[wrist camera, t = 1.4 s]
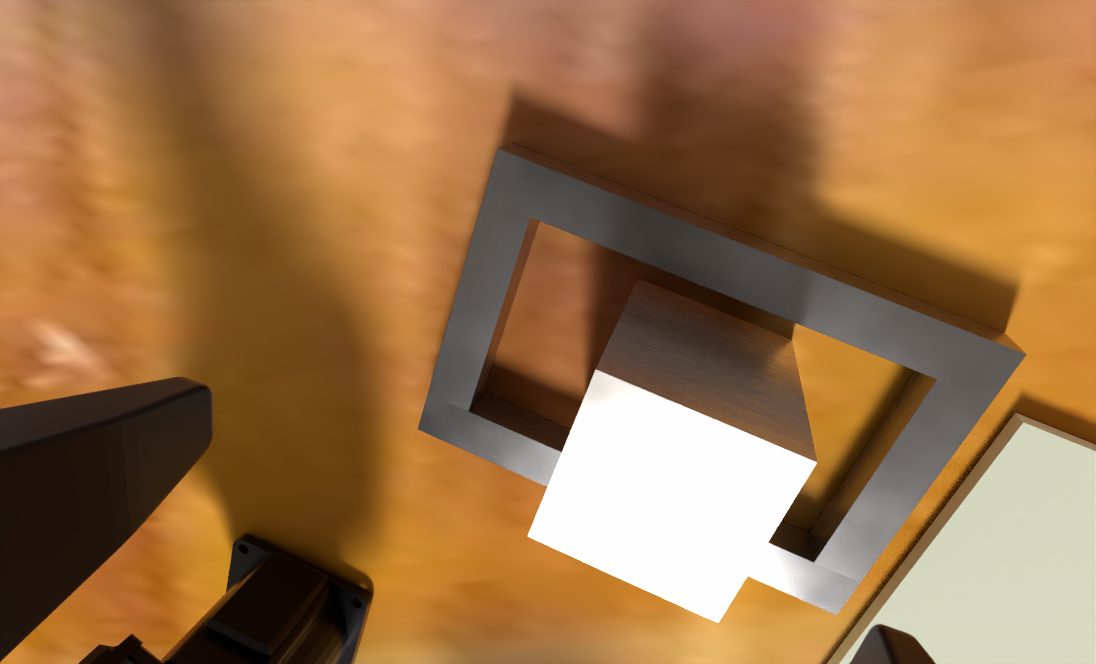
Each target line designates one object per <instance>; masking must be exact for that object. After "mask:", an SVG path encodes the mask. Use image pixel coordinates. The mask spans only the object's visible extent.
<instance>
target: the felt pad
mask: <svg viewBox="0 0 1096 664" xmlns="http://www.w3.org/2000/svg"><path fill="white" fill-rule="evenodd" d="M876 624H883V625H886V626H889V627H892V628H894V629H897V630H900V631H903V632H906V633H908V634H910V635H912V636H913V637H915V638H916V639H917V640H918V642H919V643H920V644H921V645H922V646H923V648H924V649H925V650H926V651H927V653H928V654H929V655H930V656H931V658H932V659H933V660H934V661H935V663H936V664H1096V445H1095V444H1093V443H1090V442H1088V441H1085V440H1083V439H1080V438H1078V437H1075V436H1073V435H1070V434H1068V433H1065V432H1063V431H1060V430H1058V429H1055V428H1053V427H1050V426H1048V425H1045V424H1043V423H1040V422H1038V421H1035V420H1033V419H1030V418H1028V417H1025V416H1023V415H1020V414H1018V413H1015V414H1014V415H1013V416H1012V418H1011V419H1010V420H1009V422H1008V423H1007V424H1006V426H1005V427H1004V428H1003V430H1002V431H1001V432H1000V434H999V435H998V436H997V438H996V439H995V440H994V442H993V443H992V444H991V446H990V447H989V448H988V450H987V451H986V452H985V454H984V455H983V456H982V458H981V459H980V460H979V462H978V463H977V464H976V466H975V467H974V468H973V470H972V471H971V472H970V474H969V475H968V476H967V478H966V479H965V480H964V482H963V483H962V484H961V486H960V487H959V488H958V490H957V491H956V492H955V494H954V495H953V496H952V498H951V499H950V500H949V501H948V503H947V504H946V505H945V507H944V508H943V509H942V511H941V512H940V513H939V515H938V516H937V517H936V519H935V520H934V521H933V523H932V524H931V525H930V527H929V528H928V529H927V531H926V532H925V533H924V535H923V536H922V537H921V539H920V540H919V541H918V543H917V544H916V545H915V547H914V548H913V549H912V551H911V552H910V553H909V555H908V556H907V557H906V559H905V560H904V561H903V563H902V564H901V565H900V567H899V568H898V569H897V571H896V572H895V573H894V575H893V576H892V577H891V579H890V580H889V581H888V583H887V584H886V585H885V587H884V588H883V589H882V591H881V592H880V593H879V595H878V596H877V597H876V599H875V600H874V601H873V603H872V604H871V605H870V607H869V608H868V609H867V611H866V612H865V613H864V615H863V616H862V617H861V618H860V620H859V621H858V622H857V624H856V625H855V626H854V628H853V629H852V630H851V632H850V633H849V634H848V636H847V637H846V638H845V640H844V641H843V642H842V644H841V645H840V646H839V648H838V649H837V650H836V652H835V653H834V654H833V656H832V657H831V658H830V660H829V661H828V662H827V664H849V663H850V661H851V660H852V658H853V656H854V655H855V653H856V651H857V650H858V648H859V646H860V644H861V643H862V641H863V639H864V638H865V636H866V634H867V632H868V631H869V630H870V628H871V627H873V626H874V625H876Z"/></svg>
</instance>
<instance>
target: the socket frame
mask: <svg viewBox="0 0 1096 664" xmlns="http://www.w3.org/2000/svg"><path fill="white" fill-rule="evenodd" d="M539 221H541V222H544V223H546V224H549V225H551V226H554V227H556V228H559V229H561V230H564V231H566V232H569V233H571V234H574V235H576V236H579V237H581V238H584V239H586V240H589V241H591V242H594V243H596V244H599V245H601V246H604V247H607V248H609V249H612V250H614V251H617V252H619V253H622V254H624V255H627V256H629V257H632V258H634V259H637V260H639V261H642V262H644V263H647V264H649V265H652V266H654V267H657V268H659V269H662V270H664V271H667V272H669V273H672V274H674V275H677V276H679V277H682V278H684V279H687V280H689V281H692V282H694V283H697V284H699V285H702V286H704V287H707V288H709V289H712V290H714V291H717V292H719V293H722V294H724V295H727V296H729V297H732V298H734V299H737V300H739V301H742V302H744V303H747V304H749V305H752V306H754V307H757V308H759V309H762V310H764V311H767V312H769V313H772V314H774V315H777V316H779V317H782V318H784V319H787V320H789V321H792V322H794V323H797V324H800V325H802V326H805V327H807V328H810V329H812V330H815V331H817V332H820V333H822V334H825V335H827V336H830V337H832V338H835V339H837V340H840V341H842V342H845V343H847V344H850V345H852V346H855V347H857V348H860V349H862V350H865V351H867V352H870V353H872V354H875V355H877V356H880V357H882V358H885V359H887V360H890V361H892V362H895V363H897V364H900V365H902V366H905V367H907V368H910V369H912V370H915V371H914V373H913V374H912V376H911V377H910V379H909V380H908V382H907V384H906V385H905V387H904V388H903V390H902V391H901V393H900V394H899V396H898V397H897V399H896V400H895V402H894V403H893V405H892V407H891V408H890V410H889V411H888V413H887V414H886V416H885V417H884V419H883V420H882V422H881V423H880V425H879V426H878V428H877V430H876V431H875V433H874V434H873V436H872V437H871V439H870V440H869V442H868V443H867V445H866V446H865V448H864V450H863V451H862V453H861V454H860V456H859V457H858V459H857V460H856V462H855V463H854V465H853V466H852V468H851V469H850V471H849V473H848V474H847V476H846V477H845V479H844V480H843V482H842V483H841V485H840V486H839V488H838V489H837V491H836V493H835V494H834V496H833V497H832V499H831V500H830V502H829V503H828V505H827V506H826V508H825V509H824V511H823V512H822V514H821V516H820V517H819V519H818V520H817V522H816V523H815V525H814V526H813V528H812V529H811V531H810V532H809V533H808V532H806V531H804V530H801V529H799V528H797V527H795V526H792V525H790V524H788V523H785V522H783V521H781V522H780V523H779V525H778V527H777V528H776V530H775V532H774V533H773V535H772V536H771V538H770V540H769V541H768V543H767V544H766V546H765V548H764V549H763V551H762V552H761V554H760V556H759V557H758V559H757V561H756V562H755V564H754V565H753V567H752V569H751V570H750V572H749V573H748V575H747V576H749V577H751V578H754V579H756V580H758V581H760V582H763V583H765V584H767V585H769V586H772V587H774V588H776V589H778V590H781V591H783V592H785V593H787V594H790V595H792V596H794V597H796V598H799V599H801V600H803V601H805V602H808V603H810V604H812V605H814V606H817V607H819V608H821V609H823V610H826V611H828V612H830V613H832V614H835V615H837V614H838V613H839V611H840V610H841V609H842V607H843V606H844V604H845V603H846V602H847V600H848V599H849V598H850V596H851V595H852V593H853V592H854V591H855V589H856V588H857V587H858V585H859V584H860V582H861V581H862V580H863V578H864V577H865V576H866V574H867V573H868V571H869V570H870V569H871V567H872V566H873V565H874V563H875V562H876V560H877V559H878V558H879V556H880V555H881V554H882V552H883V551H884V549H885V548H886V547H887V545H888V544H889V543H890V541H891V540H892V538H893V537H894V536H895V534H896V533H897V532H898V530H899V529H900V527H901V526H902V525H903V523H904V522H905V521H906V519H907V518H908V516H909V515H910V514H911V512H912V511H913V510H914V508H915V507H916V505H917V504H918V503H919V501H920V500H921V499H922V497H923V496H924V494H925V493H926V492H927V490H928V489H929V488H930V486H931V485H932V483H933V482H934V481H935V479H936V478H937V477H938V475H939V474H940V472H941V471H942V470H943V468H944V467H945V466H946V464H947V463H948V461H949V460H950V459H951V457H952V456H953V455H954V453H955V452H956V450H957V449H958V448H959V446H960V445H961V444H962V442H963V441H964V439H965V438H966V437H967V435H968V434H969V433H970V431H971V430H972V428H973V427H974V426H975V424H976V423H977V422H978V420H979V419H980V417H981V416H982V415H983V413H984V412H985V411H986V409H987V408H988V406H989V405H990V404H991V402H992V401H993V400H994V398H995V397H996V395H997V394H998V393H999V391H1000V390H1001V389H1002V387H1003V386H1004V384H1005V383H1006V382H1007V380H1008V379H1009V378H1010V376H1011V375H1012V373H1013V372H1014V371H1015V369H1016V368H1017V367H1018V365H1019V364H1020V362H1021V361H1022V360H1023V358H1024V357H1025V356H1026V353H1025V352H1023V351H1022V350H1021V349H1020V348H1019V347H1018V346H1017V345H1016V344H1015V343H1014V342H1013V341H1012V340H1011V339H1010V338H1009V337H1008V336H1007V335H1006V334H1005V333H1003V332H1000V331H997V330H995V329H992V328H990V327H987V326H984V325H982V324H979V323H977V322H974V321H972V320H969V319H966V318H964V317H961V316H959V315H956V314H953V313H951V312H948V311H946V310H943V309H941V308H938V307H935V306H933V305H930V304H928V303H925V302H922V301H920V300H917V299H915V298H912V297H910V296H907V295H904V294H902V293H899V292H897V291H894V290H891V289H889V288H886V287H884V286H881V285H879V284H876V283H873V282H871V281H868V280H866V279H863V278H861V277H858V276H855V275H853V274H850V273H848V272H845V271H842V270H840V269H837V268H835V267H832V266H830V265H827V264H824V263H822V262H819V261H817V260H814V259H811V258H809V257H806V256H804V255H801V254H799V253H796V252H793V251H791V250H788V249H786V248H783V247H780V246H778V245H775V244H773V243H770V242H768V241H765V240H762V239H760V238H757V237H755V236H752V235H749V234H747V233H744V232H742V231H739V230H737V229H734V228H731V227H729V226H726V225H724V224H721V223H719V222H716V221H713V220H711V219H708V218H706V217H703V216H700V215H698V214H695V213H693V212H690V211H688V210H685V209H682V208H680V207H677V206H675V205H672V204H669V203H667V202H664V201H662V200H659V199H657V198H654V197H651V196H649V195H646V194H644V193H641V192H638V191H636V190H633V189H631V188H628V187H626V186H623V185H620V184H618V183H615V182H613V181H610V180H607V179H605V178H602V177H600V176H597V175H595V174H592V173H589V172H587V171H584V170H582V169H579V168H577V167H574V166H571V165H569V164H566V163H564V162H561V161H558V160H556V159H553V158H551V157H548V156H546V155H543V154H540V153H538V152H535V151H533V150H530V149H527V148H525V147H522V146H520V145H517V144H515V143H512V144H509V145H506V146H503V147H500V148H498V149H497V152H496V156H495V159H494V163H493V166H492V170H491V173H490V177H489V180H488V184H487V187H486V191H485V194H484V198H483V201H482V205H481V209H480V212H479V216H478V219H477V223H476V226H475V230H474V233H473V237H472V240H471V244H470V247H469V251H468V254H467V258H466V261H465V265H464V268H463V272H462V275H461V279H460V282H459V286H458V289H457V293H456V296H455V300H454V303H453V307H452V311H451V314H450V318H449V321H448V325H447V328H446V332H445V335H444V339H443V342H442V346H441V349H440V353H439V356H438V360H437V363H436V367H435V370H434V374H433V377H432V381H431V384H430V388H429V391H428V395H427V398H426V402H425V405H424V409H423V412H422V416H421V420H420V423H419V427H418V430H421V431H423V432H425V433H427V434H430V435H432V436H434V437H436V438H439V439H441V440H443V441H445V442H448V443H450V444H452V445H454V446H457V447H459V448H461V449H463V450H466V451H468V452H470V453H472V454H475V455H477V456H479V457H481V458H484V459H486V460H488V461H490V462H493V463H495V464H497V465H499V466H502V467H504V468H506V469H508V470H511V471H513V472H515V473H517V474H520V475H522V476H524V477H526V478H529V479H531V480H533V481H535V482H538V483H540V484H542V485H544V486H547V487H548V485H549V483H550V480H551V478H552V475H553V473H554V471H555V468H556V466H557V463H558V461H559V458H560V456H561V453H562V451H563V448H564V446H565V444H566V441H567V439H568V436H569V434H570V431H571V430H570V429H568V428H566V427H563V426H561V425H559V424H556V423H554V422H552V421H550V420H547V419H545V418H543V417H540V416H538V415H536V414H533V413H531V412H529V411H526V410H524V409H522V408H519V407H517V406H515V405H513V404H510V403H508V402H506V401H503V400H501V399H499V398H496V397H494V396H492V395H489V394H487V393H485V392H484V389H485V386H486V383H487V380H488V377H489V374H490V371H491V368H492V364H493V361H494V358H495V355H496V352H497V349H498V346H499V343H500V340H501V337H502V334H503V331H504V328H505V325H506V322H507V319H508V316H509V313H510V309H511V306H512V303H513V300H514V297H515V294H516V291H517V288H518V285H519V282H520V279H521V276H522V273H523V270H524V267H525V264H526V261H527V258H528V254H529V251H530V248H531V245H532V242H533V239H534V236H535V233H536V230H537V227H538V224H539Z"/></svg>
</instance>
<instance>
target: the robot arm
mask: <svg viewBox="0 0 1096 664" xmlns="http://www.w3.org/2000/svg"><path fill="white" fill-rule="evenodd" d="M212 436H213V409H212V392H211V390H210V388H209V387H208V386H207V385H205V384H203V383H200V382H197V381H194V380H191V379H189V378H185V377H175V378H169V379H164V380H158V381H152V382H147V383H141V384H136V385H130V386H125V387H119V388H114V389H108V390H102V391H97V392H91V393H86V394H80V395H75V396H69V397H63V398H58V399H52V400H47V401H41V402H36V403H30V404H25V405H19V406H13V407H8V408H2V409H0V662H1V661H2V660H3V659H4V658H5V657H6V656H7V655H8V654H9V653H10V652H11V651H12V650H13V649H14V648H15V647H16V646H17V645H18V644H19V643H21V642H22V641H23V640H24V639H25V638H26V637H27V636H28V635H29V634H30V633H31V632H32V631H33V630H34V629H35V628H36V627H37V626H38V625H39V624H40V623H42V622H43V621H44V620H45V619H46V618H47V617H48V616H49V615H50V614H51V613H52V612H53V611H54V610H55V609H56V608H57V607H58V606H59V605H60V604H61V603H62V602H64V601H65V600H66V599H67V598H68V597H69V596H70V595H71V594H72V593H73V592H74V591H75V590H76V589H77V588H78V587H79V586H80V585H81V584H82V583H83V582H85V581H86V580H87V579H88V578H89V577H90V576H91V575H92V574H93V573H94V572H95V571H96V570H97V569H98V568H99V567H100V566H101V565H102V564H103V563H104V562H106V561H107V560H108V559H109V558H110V557H111V556H112V555H113V554H114V553H115V552H116V551H117V550H118V549H119V548H120V547H121V546H122V545H123V544H124V543H125V542H126V541H127V540H128V539H129V538H130V537H131V536H132V535H133V534H134V533H135V532H136V531H137V529H138V528H139V527H140V526H141V525H142V524H143V523H144V522H145V521H146V520H147V518H148V517H149V516H150V515H151V514H152V513H153V512H154V510H155V509H156V508H157V507H158V506H159V505H160V504H161V502H162V501H163V500H164V499H165V498H166V497H167V495H168V494H169V493H170V492H171V491H172V490H173V489H174V487H175V486H176V485H177V484H178V483H179V482H180V481H181V479H182V478H183V477H184V476H185V475H186V474H187V472H188V471H189V470H190V469H191V468H192V467H193V466H194V464H195V463H196V462H197V461H198V460H199V459H200V458H201V456H202V455H203V454H204V453H205V452H206V450H207V449H208V447H209V445H210V443H211V440H212ZM371 602H372V598H371V595H370V594H369V593H368V592H367V591H366V590H365V589H363V588H361V587H359V586H357V585H355V584H353V583H350V582H348V581H346V580H344V579H342V578H340V577H338V576H336V575H334V574H332V573H329V572H327V571H325V570H323V569H321V568H319V567H317V566H315V565H313V564H311V563H308V562H306V561H304V560H302V559H300V558H298V557H296V556H294V555H292V554H290V553H287V552H285V551H283V550H281V549H279V548H277V547H275V546H273V545H271V544H269V543H267V542H264V541H262V540H260V539H258V538H256V537H254V536H252V535H249V534H243V535H241V536H240V537H239V538H238V539H237V540H236V541H235V542H234V544H233V550H232V557H231V563H230V570H229V576H228V583H227V590H226V594H225V595H224V596H223V597H222V598H221V599H220V600H219V601H218V602H217V603H216V604H215V605H214V606H213V607H212V608H211V609H210V610H209V611H208V612H207V613H206V614H205V615H204V616H203V617H202V618H201V619H200V621H199V622H198V623H197V624H196V625H195V626H194V627H193V628H192V629H191V630H190V631H189V632H188V633H187V634H186V635H185V636H184V637H183V638H182V639H181V640H180V641H179V642H178V643H177V644H176V645H175V646H174V647H173V648H172V649H171V650H170V651H169V653H168V654H167V655H166V656H165V657H164V658H163V659H162V660H161V661H160V660H159V659H157V658H156V657H155V656H154V655H153V654H151V653H150V652H149V651H148V650H147V649H145V648H144V647H143V646H142V644H143V642H142V641H140V640H139V639H138V638H137V637H136V636H134V635H133V634H131V635H130V636H129V637H127V638H126V639H125V640H124V641H123V642H122V643H121V644H119V645H118V646H115V647H111V646H105V645H98V646H97V647H96V648H95V649H94V650H93V651H92V652H91V653H90V654H88V655H87V656H86V657H85V658H84V659H83V660H82V661H81V662H80V663H79V664H354V661H355V658H356V654H357V651H358V647H359V644H360V640H361V637H362V633H363V630H364V626H365V623H366V619H367V616H368V612H369V609H370V605H371ZM849 664H936V663H935V661H934V660H933V659H932V658H931V656H930V655H929V654H928V653H927V651H926V650H925V649H924V648H923V646H922V645H921V644H920V643H919V642H918V640H917V639H916V638H915V637H913V636H912V635H910V634H908V633H906V632H903V631H900V630H897V629H894V628H892V627H889V626H886V625H883V624H876V625H874V626H873V627H871V628H870V630H869V631H868V632H867V634H866V636H865V638H864V639H863V641H862V643H861V644H860V646H859V648H858V650H857V651H856V653H855V655H854V656H853V658H852V660H851V661H850V663H849Z"/></svg>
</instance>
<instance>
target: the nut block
mask: <svg viewBox="0 0 1096 664" xmlns="http://www.w3.org/2000/svg"><path fill="white" fill-rule="evenodd" d="M816 464H817V459H816V454H815V449H814V444H813V439H812V435H811V430H810V425H809V420H808V415H807V411H806V406H805V401H804V396H803V391H802V386H801V382H800V377H799V372H798V367H797V362H796V358H795V353H794V348H793V343H792V340H791V339H788V338H786V337H783V336H781V335H778V334H776V333H773V332H771V331H768V330H766V329H763V328H761V327H758V326H756V325H753V324H751V323H748V322H746V321H743V320H741V319H738V318H736V317H733V316H731V315H728V314H726V313H723V312H721V311H719V310H716V309H714V308H711V307H709V306H706V305H704V304H701V303H699V302H696V301H694V300H691V299H689V298H686V297H684V296H681V295H679V294H676V293H674V292H671V291H669V290H666V289H664V288H661V287H659V286H656V285H654V284H651V283H649V282H646V281H644V280H641V279H639V278H638V279H637V281H636V283H635V285H634V288H633V290H632V292H631V294H630V296H629V298H628V301H627V303H626V305H625V307H624V309H623V311H622V314H621V316H620V318H619V320H618V322H617V324H616V326H615V329H614V331H613V333H612V335H611V337H610V339H609V342H608V344H607V346H606V348H605V350H604V352H603V355H602V357H601V359H600V361H599V363H598V365H597V368H596V370H595V372H594V375H593V377H592V380H591V382H590V385H589V387H588V389H587V392H586V394H585V397H584V399H583V402H582V404H581V407H580V409H579V412H578V414H577V416H576V419H575V421H574V424H573V426H572V429H571V431H570V434H569V436H568V439H567V441H566V444H565V446H564V448H563V451H562V453H561V456H560V458H559V461H558V463H557V466H556V468H555V471H554V473H553V475H552V478H551V480H550V483H549V485H548V488H547V490H546V493H545V495H544V498H543V500H542V502H541V505H540V507H539V510H538V512H537V515H536V517H535V520H534V522H533V525H532V527H531V529H530V532H529V534H528V537H530V538H533V539H535V540H537V541H539V542H541V543H544V544H546V545H548V546H550V547H552V548H555V549H557V550H559V551H561V552H563V553H566V554H568V555H570V556H572V557H574V558H577V559H579V560H581V561H583V562H585V563H588V564H590V565H592V566H594V567H596V568H599V569H601V570H603V571H605V572H607V573H610V574H612V575H614V576H616V577H618V578H621V579H623V580H625V581H627V582H629V583H632V584H634V585H636V586H638V587H641V588H643V589H645V590H647V591H649V592H652V593H654V594H656V595H658V596H660V597H663V598H665V599H667V600H669V601H671V602H674V603H676V604H678V605H680V606H682V607H685V608H687V609H689V610H691V611H693V612H696V613H698V614H700V615H702V616H704V617H707V618H709V619H711V620H713V621H715V622H719V620H720V619H721V617H722V615H723V614H724V612H725V611H726V609H727V607H728V606H729V604H730V602H731V601H732V599H733V598H734V596H735V594H736V593H737V591H738V590H739V588H740V586H741V585H742V583H743V581H744V580H745V578H746V577H747V575H748V573H749V572H750V570H751V569H752V567H753V565H754V564H755V562H756V561H757V559H758V557H759V556H760V554H761V552H762V551H763V549H764V548H765V546H766V544H767V543H768V541H769V540H770V538H771V536H772V535H773V533H774V532H775V530H776V528H777V527H778V525H779V523H780V522H781V520H782V519H783V517H784V515H785V514H786V512H787V511H788V509H789V507H790V506H791V504H792V503H793V501H794V499H795V498H796V496H797V494H798V493H799V491H800V490H801V488H802V486H803V485H804V483H805V482H806V480H807V478H808V477H809V475H810V474H811V472H812V470H813V469H814V467H815V465H816Z"/></svg>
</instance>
